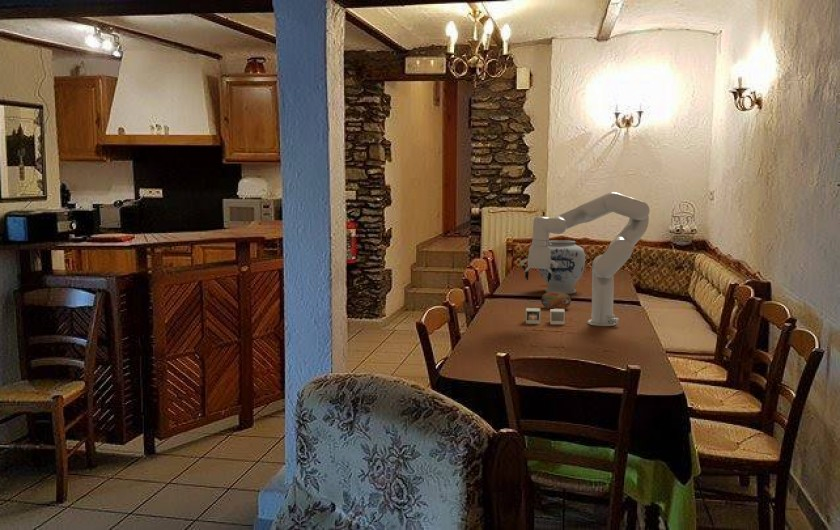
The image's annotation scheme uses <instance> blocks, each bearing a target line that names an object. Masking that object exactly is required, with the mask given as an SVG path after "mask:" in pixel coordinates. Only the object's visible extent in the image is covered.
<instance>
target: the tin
mask: <svg viewBox="0 0 840 530" xmlns="http://www.w3.org/2000/svg"><path fill="white" fill-rule="evenodd" d="M571 303H572V298H571V297H570V294H566V293H554V292H545V293H543V294H542V296H541V304H542V306H543V307H544V308H545V309H549V308H554V309H564V310H566V309H568V308H569V307H570V306H571Z"/></svg>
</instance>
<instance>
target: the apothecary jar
mask: <svg viewBox="0 0 840 530" xmlns="http://www.w3.org/2000/svg"><path fill="white" fill-rule="evenodd" d="M549 241H550V242H552V245H549V246H548V247H550V252H551V260H553V261H554V262H556V263H558V266H557V268H556V269H555V270H554V271H553V272H552V273H551V280H549V282H548V273H549V271H548V270H547V269H540V268H538V270H539V273H540V276H541V277H542V278H543V280H544V282H545V283H546V285H547V286H548V287H547V288H546V289H545V293H547V292H554V293H566V294H568V295H572V294H576V292H577V290H576V289H575V288H574V287H575V285H576V283H578V282H579V280H580V278H582V275H583V274H584V271H585V264H586V255H585V250H584V248H583V247H581V246H579V245H577V244H576V241H575V240H567V239H566V240H565V239H564V240H561V239H560V240H556V239H555V240H553V239H552V240H549ZM553 267H554V264H552V263H550V269H552V268H553Z"/></svg>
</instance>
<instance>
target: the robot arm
mask: <svg viewBox="0 0 840 530" xmlns="http://www.w3.org/2000/svg"><path fill="white" fill-rule="evenodd" d="M650 210H651V209H650V206H649V205H648V203H647V202H646V201H643V200H640V199H636V198H633V197H631V196H628V195H624V194H621V193H619V192H615V191H611V192H607V193H605V194H603V195H602V196H599V197H597V198H594V199H592V200H590V201H587V202H585V203H583V204H581V205H578V206H577V207H575V208H571V209H570V210H567V211H565V212H564V213H561V214H559V215H557V216H555V217H548V216H540V215H539V216H535V217H534V218H533V226H532V238H531V245H530V246H529V249H528V255H527V258H525V259H523V260H520V261H519V263H520V264H519V265H520V266H521V268H522V269H523V270H524V273H525V276H524V279H526V281H528V280H529V275H530V274H529V272H530V271H529V270H530V269H539V268H540V269H547V270H548V271H549V273H548V282H549V280H551V273H552V272H553V271H554V270H555V269H556V268H557V266H558V263H556V262H554V261H553V260H551V252H550V247H548V246H549V245H552V242H550V241H551V240H550V234H555V235H561V234H563V233H565V232H566V231H567V230H568V229H571V228H573V227H575V226H578V225H581V224H584V223H586V224H587V223H590V222H593V221H595V220H598V219H599V218H602V217H604V216H606V215H609V214H611V213H614V214H615V213H616V214H617V215H620V216H623V217H626V218H629V220H628V222H627V223H626V225H625V226H624V227H623V229H621V231H620V232H619V233H618V234H617V235H616V236H615V237H614V238H613V239H612V240H611V242H610V243H609V246H608V248H607V249H606V250H605V252H603V254H599V255H597V256H596V257H595V258H594V259H593V261H592V264H591V276H592V278H591V315H590V316H591V317H590V319H588V320H587V324H588V325H591V326H596V327H613V326H616V325H617V324H619V322H620V318H618V317H616V314H614V293H615V291H614V288H615V286H614V285H615V284H614V283H615V282H614V281H615V278H614V277H615V274H616V273H617V272H618V271H619V269H621V268H622V267H623V265H624V264H625V263H626V262H627V261H628V260H629V259H630V257H632V254H633V250H634V246H635V245H636V244H637V243H638V242H639V241H640V240H641V238H642V237H643V236H644V234H645V233H646V231H647V230H648V227H649V223H650V222H649V219H650V216H649V215H650ZM524 263H527V267H526V266H525V264H524ZM550 263H552V264H554V267H553V268H552V269H550Z"/></svg>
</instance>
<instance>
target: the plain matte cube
mask: <svg viewBox="0 0 840 530" xmlns="http://www.w3.org/2000/svg"><path fill="white" fill-rule="evenodd" d="M529 313H537V320H529ZM525 324H527V325H528V324H529V325H530V324H531V325H533V324H535V325H536V324H537V325H540V324H541V308H538V307H535V308H534V307H531V308H529V307H525Z"/></svg>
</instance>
